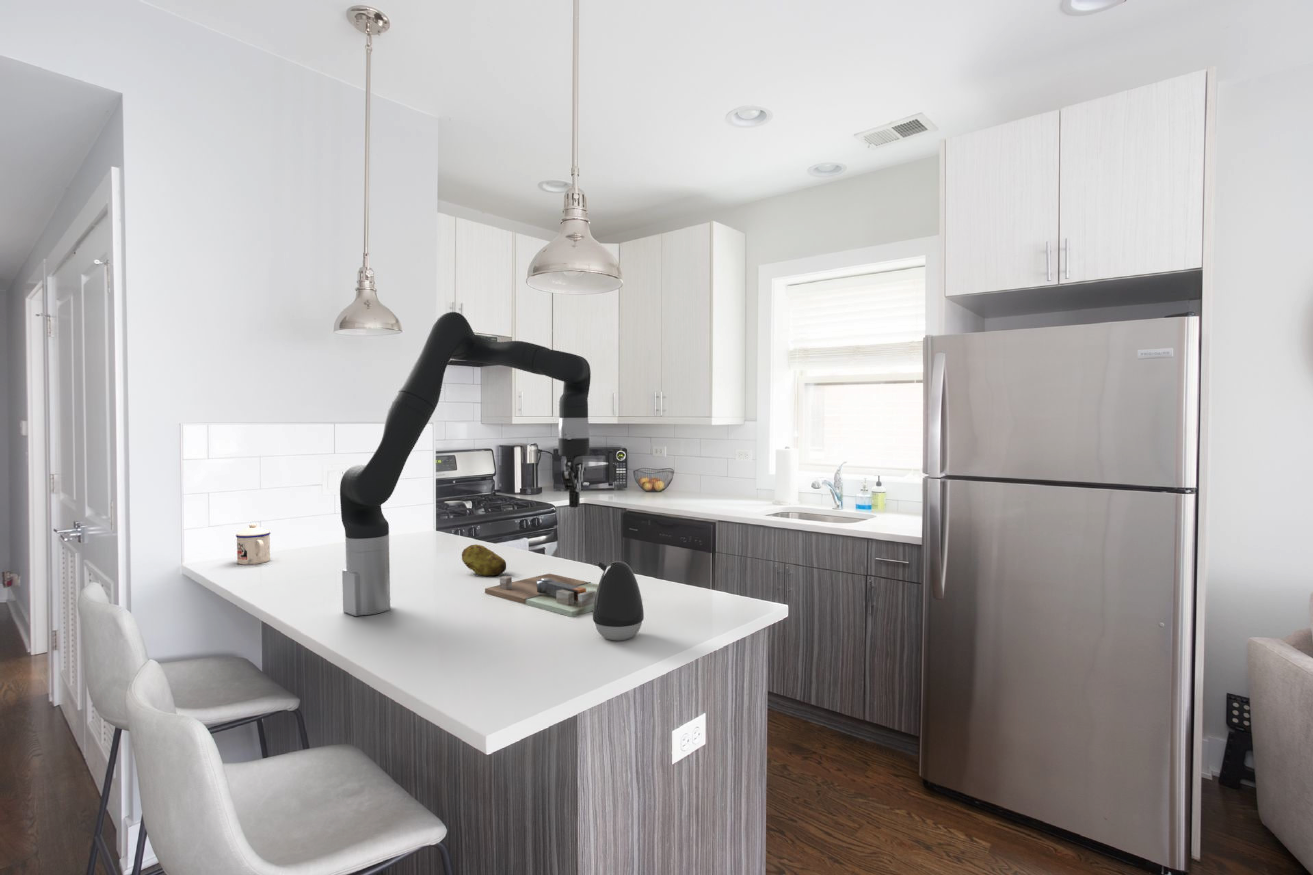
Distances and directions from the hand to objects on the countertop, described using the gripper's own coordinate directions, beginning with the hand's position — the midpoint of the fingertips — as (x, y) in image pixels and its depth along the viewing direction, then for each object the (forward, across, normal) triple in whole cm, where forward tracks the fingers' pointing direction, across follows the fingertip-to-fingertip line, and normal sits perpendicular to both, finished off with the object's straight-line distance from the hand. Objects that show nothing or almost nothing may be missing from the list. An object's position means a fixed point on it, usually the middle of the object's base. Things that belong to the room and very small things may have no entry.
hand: (574, 506), depth 169 cm
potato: (+22, -18, -32) cm, 43 cm away
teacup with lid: (+22, -21, -108) cm, 112 cm away
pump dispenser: (+22, +29, +18) cm, 40 cm away
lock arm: (+20, +7, -1) cm, 21 cm away
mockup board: (+22, 0, -4) cm, 22 cm away
